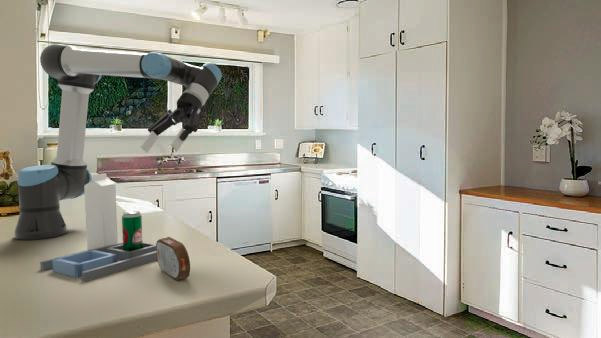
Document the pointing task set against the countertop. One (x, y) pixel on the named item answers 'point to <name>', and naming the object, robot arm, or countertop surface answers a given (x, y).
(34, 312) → the countertop surface
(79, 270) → the grey railed frame
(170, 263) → the tin
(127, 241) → the soda can
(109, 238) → the milk
